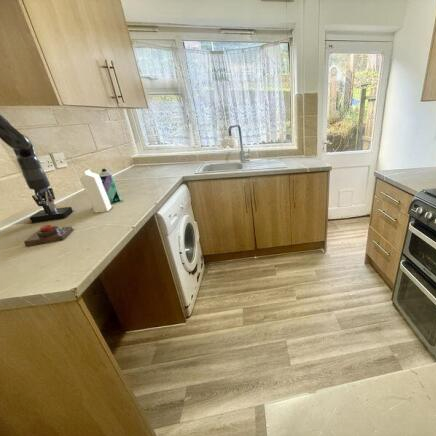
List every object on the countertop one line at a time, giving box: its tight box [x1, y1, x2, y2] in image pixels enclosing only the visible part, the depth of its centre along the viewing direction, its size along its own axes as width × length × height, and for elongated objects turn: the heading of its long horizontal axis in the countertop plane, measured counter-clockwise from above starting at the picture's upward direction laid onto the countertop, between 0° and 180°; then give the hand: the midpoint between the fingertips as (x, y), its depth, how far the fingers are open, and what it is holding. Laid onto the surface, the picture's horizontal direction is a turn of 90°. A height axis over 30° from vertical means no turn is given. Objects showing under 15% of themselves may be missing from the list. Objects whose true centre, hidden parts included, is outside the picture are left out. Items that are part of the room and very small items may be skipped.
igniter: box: [23, 225, 74, 248], centre depth 102 cm, size 12×10×4 cm
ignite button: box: [39, 224, 53, 232], centre depth 101 cm, size 4×4×2 cm
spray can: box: [98, 168, 122, 204], centre depth 138 cm, size 6×6×20 cm
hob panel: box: [29, 206, 74, 224], centre depth 124 cm, size 13×10×3 cm
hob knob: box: [47, 201, 57, 213], centre depth 122 cm, size 4×4×5 cm
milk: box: [80, 168, 112, 214], centre depth 126 cm, size 6×6×22 cm
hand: (51, 210), depth 123 cm, fingers open, 4 cm apart
